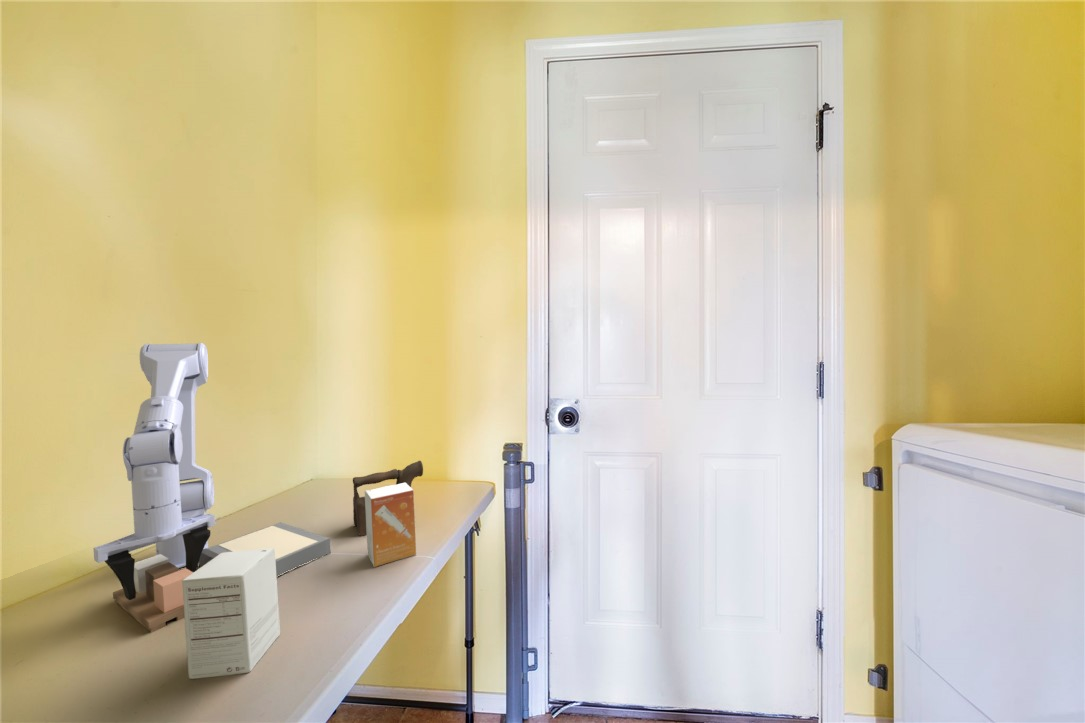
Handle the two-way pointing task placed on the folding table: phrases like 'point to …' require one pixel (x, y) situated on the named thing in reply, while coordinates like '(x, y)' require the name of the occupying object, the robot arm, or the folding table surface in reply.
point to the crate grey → (145, 565)
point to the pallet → (150, 601)
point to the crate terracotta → (170, 590)
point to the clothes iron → (400, 475)
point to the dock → (276, 546)
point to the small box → (390, 523)
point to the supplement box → (231, 612)
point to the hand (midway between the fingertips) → (162, 585)
